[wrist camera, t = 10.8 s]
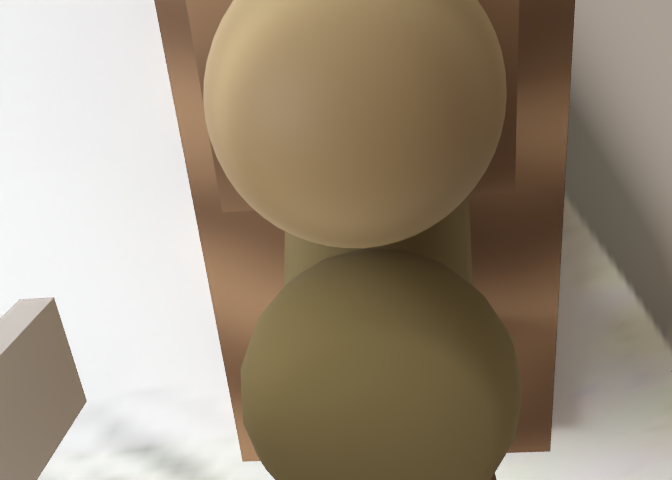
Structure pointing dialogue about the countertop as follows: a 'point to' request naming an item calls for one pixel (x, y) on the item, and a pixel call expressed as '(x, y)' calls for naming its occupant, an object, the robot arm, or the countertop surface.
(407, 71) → the wooden peg board
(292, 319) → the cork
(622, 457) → the countertop surface
